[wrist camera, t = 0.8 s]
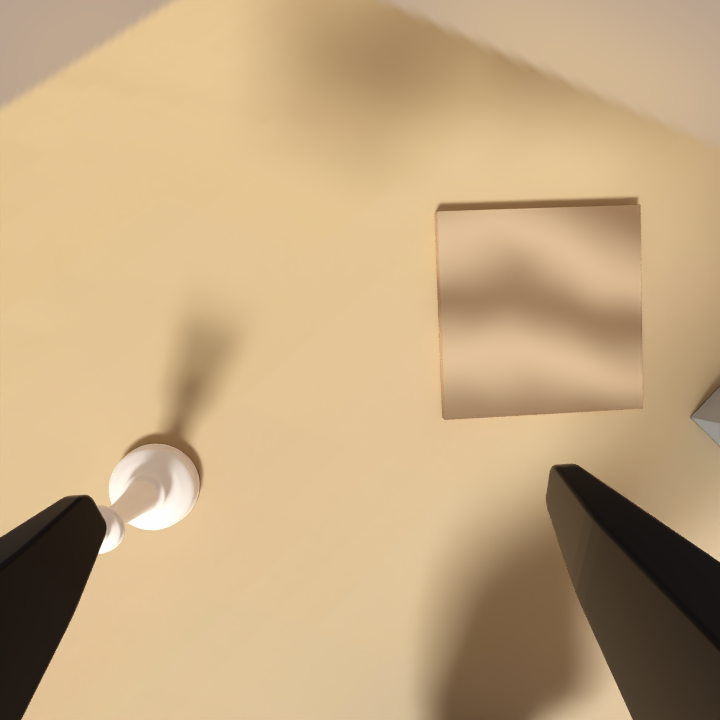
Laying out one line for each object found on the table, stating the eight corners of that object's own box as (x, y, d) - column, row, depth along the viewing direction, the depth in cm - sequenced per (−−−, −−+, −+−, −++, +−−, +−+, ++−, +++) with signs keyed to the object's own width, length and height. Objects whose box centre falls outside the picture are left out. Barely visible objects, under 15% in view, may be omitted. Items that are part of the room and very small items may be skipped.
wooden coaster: (635, 406, 25) (643, 408, 24) (442, 417, 24) (444, 419, 23) (633, 207, 24) (640, 204, 23) (434, 214, 23) (437, 211, 23)
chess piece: (142, 427, 23) (-8, 492, 13) (215, 470, 24) (123, 566, 14) (97, 499, 23) (-85, 617, 13) (172, 541, 24) (48, 687, 14)
